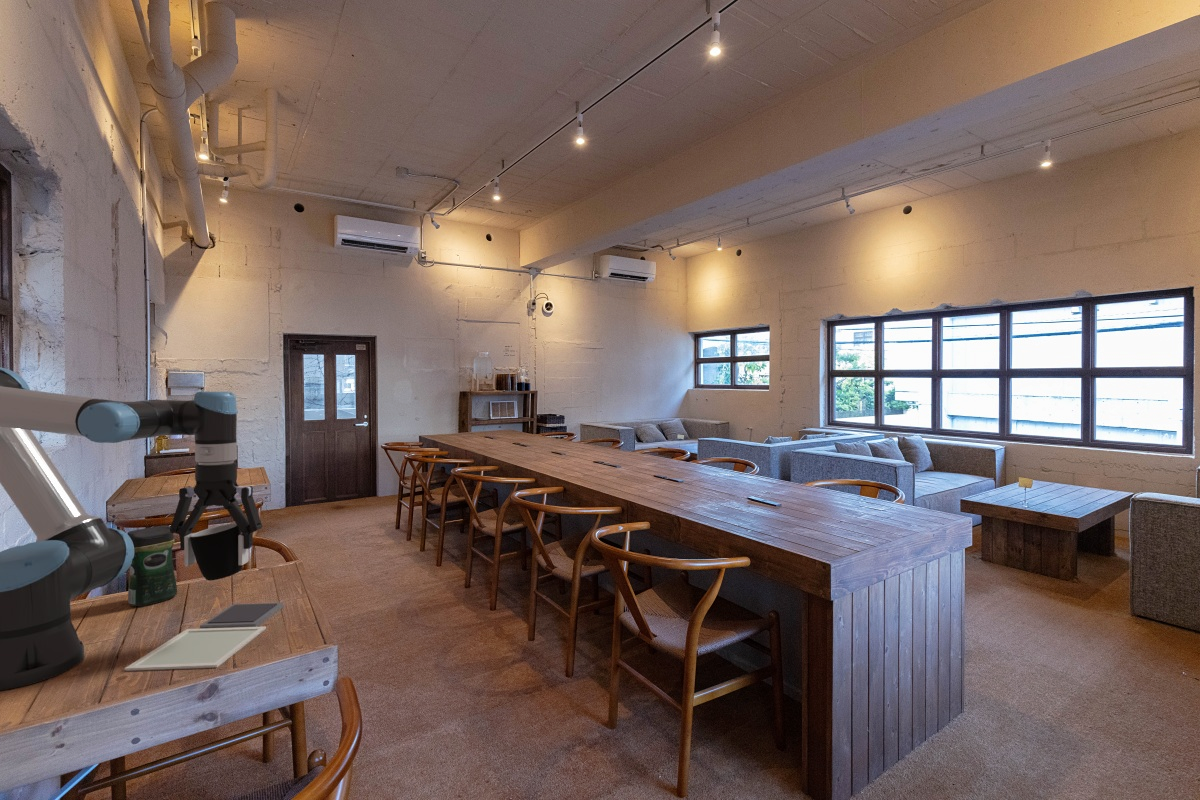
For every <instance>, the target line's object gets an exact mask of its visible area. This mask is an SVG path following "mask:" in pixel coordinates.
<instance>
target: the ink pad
mask: <svg viewBox="0 0 1200 800" xmlns="http://www.w3.org/2000/svg"><path fill="white" fill-rule="evenodd" d="M284 606H285V603H284V602H263V603H261V602H260V603H259V602H258V603H257V602H255V603H232V604H231V605H230V606H228V607H226V608H224V610H222V611H220V612H219V613H217V614H216V615H214V616H212V617H211V618H210V619H207V620H206V621H205V622H203V623H202V624H200V625H199V629H204V628H234V627H260V626H261V625H262V624H263V623H264V622H266V621H267V620H269V619H270V618H271V617H272V616H274V615H275V614H276V613H277V612H279V611H280V610H281V609H282V608H284Z"/></svg>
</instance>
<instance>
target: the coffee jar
mask: <svg viewBox="0 0 1200 800" xmlns="http://www.w3.org/2000/svg"><path fill="white" fill-rule="evenodd" d="M170 528H171V525H170V526H169V525H165V524H163V525H157V526H152V527H145V528H139V529H135V530H130V531H128V532H127V533H126V534H128V536H129V537H130V538H131V540H132V542H133V545H134V558H133V559H132V564H131V566H130V567H129V580H128V591H127V594H128V595H127V601H128V604H129V605H130V606H132V607H144V606H149V605H153V604H156V603H161V602H164V601H167V600H170V599H172V598H174V597H176V595H178V585H177V580H176V575H175V570H174V569H175V568H174V562H173V554H172V553H173V546H174V545H175V536H174V533H171V532H170Z"/></svg>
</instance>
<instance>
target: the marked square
mask: <svg viewBox="0 0 1200 800" xmlns="http://www.w3.org/2000/svg"><path fill="white" fill-rule="evenodd" d="M266 629H267V626H265V625H263V626H258V627H234V628H204V629H200V628H186V629H184V630H182V632H180V633H178V634H176V635H175V636H173V637H172V638H170V639H169V640H167V641H165V642H164V643H163V644H160V645H159V646H158V647H156V648H155V649H152V650H151V651H150V652H148V653H146V654H145V655H144V656H141V657H140V658H138V659H137V660H136V661H135V662H132V663H131V664H129V665H128V666H126V667H124V671H125V672H132V671H156V670H157V671H159V670H161V671H162V670H163V671H164V670H184V669H185V670H186V669H187V670H188V669H189V670H190V669H213V668H219V667H220V666H222V665H223V664H224V663H225V662H226V661H228V660H229V659H230V658H231V657H232V656H234V655H235V654H236V653H237V652H238V651H240V650H242V649H243V647H245V646H246V645H248V643H250V642H251V641H252V640H254V639H255V638H256V637H258V636H259V635H260V634H261V633H263V632H264V631H265V630H266Z"/></svg>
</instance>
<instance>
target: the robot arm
mask: <svg viewBox="0 0 1200 800" xmlns="http://www.w3.org/2000/svg"><path fill="white" fill-rule="evenodd" d="M193 397H194V398H193V399H192V400H191V399H190V400H175V399H174V400H173V399H172V400H171V399H147V400H146V399H145V400H143V399H142V400H138V401H119V400H111V399H103V398H95V397H87V396H81V395H80V396H78V395H72V394H64V393H55V392H48V391H39V390H33V389H31V388H30V387H29V384H28V383H27V381H26V380H25V379H24V378H23V377H22V376H21V375H19V374H18V373H17V372H15V371H13V370H11V369H8V368H5V367H0V485H1V486H2V488H3V490H4V491H5V492H6V494H7V495H8V496H9V498H10V499H11V501H12V503H13V504H14V505H15V507H16V508H17V510H18V511H19V513H20V514H21V516H22V517H23V519H24V520H25V521H26V523H27V524H28V526H29V527H30V529H31V530H32V532H33V533H34V535H35V536H36V540H35V541H32V542H29V543H26V544H24V545H16V546H12V547H10V548H7V549H4V550H1V551H0V691H4V690H11V689H15V688H21V687H25V686H28V685H32V684H35V683H38V682H41V681H45V680H48V679H50V678H53V677H56V676H58V675H60V674H62V673H63V674H64V673H65V672H67V671H69V670H71V669H72V668H75V667H76V666H77V665H79V664H80V663H81V662H82V661H83V660H84V658H85V645H84V643H83V642H82V641H81V640H80V639H79V635H78V633H77V630H76V628H75V627H74V624H73V622H72V618H71V600H73V599H77V598H78V597H81V596H82V595H84V594H86V593H89V592H91V591H93V590H96V589H98V588H102V587H105V586H107V585H109V584H111V583H112V582H113V581H115V580H117V579H119V578H120V577H122V576H123V575H124V574H126V572H127V571H128V570H130V566H131V564H132V559H133V558H134V545H133V542H132V540H131V538H130V537H129V536H128V534H127V533H126V531H124V530H122V529H117V528H115V527H108V526H107V524H105V522H104V521H103V519H102V518H101V517H100V516H97V515H95V516H94V515H91V514H88V512H86V510H85V509H84V507H83V506H82V504H81V502H80V501H79V499H78V498H77V496H76V495H75V494H74V492H73V491H72V489H71V488H70V486H69V485H68V483H67V481H66V480H65V479H64V477H63V476H62V474H61V472H60V471H59V469H58V468H57V467H56V465H55V463H53V461H52V459H51V458H50V456H49V455H48V454H47V452H46V450H45V448H43V446H42V445H41V443H40V441H39V440H38V439H37V437H36V435H35V433H33V431H35V432H46V433H51V434H59V435H70V436H77V437H85V438H86V439H87V440H89V441H91V442H93V443H99V444H104V443H107V444H109V443H110V444H115V443H116V444H117V443H120V442H126V441H132V440H140V439H147V438H155V437H164V436H194V458H195V459H194V460H195V461H194V462H196V463H198V464H196V465H195V466H194V472H195V473H194V480H195V485H194V486H186V487H184V486H183V487H182V488H179V490H178V493H179V494H178V495H179V500H178V502H177V506H176V508H175V513H174V515H173V519H172V522H171V525H170V527H171V528H170V532H171V533H173V534H177V535H178V536H179V537H180V539H179V541H180V542H179V543H180V550H181V551H183V554H184V555H183V556H184V565H183V567H190V566H192V565H194V564H197V561H196V558H195V555H194V552H193V549H192V545H191V541H190V535H192V534H194V533H195V532H194V529H195V527H196V525H197V524H198V522H199V521H200V519H201V517H202V515H203V514H204V513H205V511H206V509H207V508H208V507H212V506H217V507H221V506H222V507H223V508H224V509H225V510H227V512H228V513H229V515H230V517H231V518H232V520H233V521H234V523H236V524H237V526H238V527H239V529H240V531H241V534H240V535H238V564H239V565H242V566H244V565H245V564H247V563H248V562H249V555H250V553H249V552H250V550H249V549H251V548H252V547H253V542H254V541H253V540H254V538H253V536H254V535H253V533H255V532H257V531H259V530H261V529H262V528H263V524H262V521H261V518H260V515H259V511H258V509H257V507H256V502H255V500H254V496H253V493H254V491H253V489H254V488H253V486H252V485H247V486H239V485H238V482H237V479H238V463H237V462H235V461H236V460H237V459H238V449H237V448H238V443H237V442H238V441H237V422H238V419H237V416H238V415H237V414H238V409H237V408H238V407H237V396H236V395H235V393H233V392H231V391H197V392H195V393H194V396H193ZM237 493H238V496H239V497H240V500H241V502H242V507H243V510H244V512H243V510H242V508H241V506H240V505H239V502H238V500H237V498H236V497H235V496H236V495H237ZM195 495H196V497H197V498H198V500H196V502H195V505H194V507H193V509H192V511H191V513H190V514H189V516H188V513H189V510H190V507H191V503H192V499H193V497H194V496H195ZM187 516H188V517H187ZM192 532H193V533H192Z"/></svg>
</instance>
